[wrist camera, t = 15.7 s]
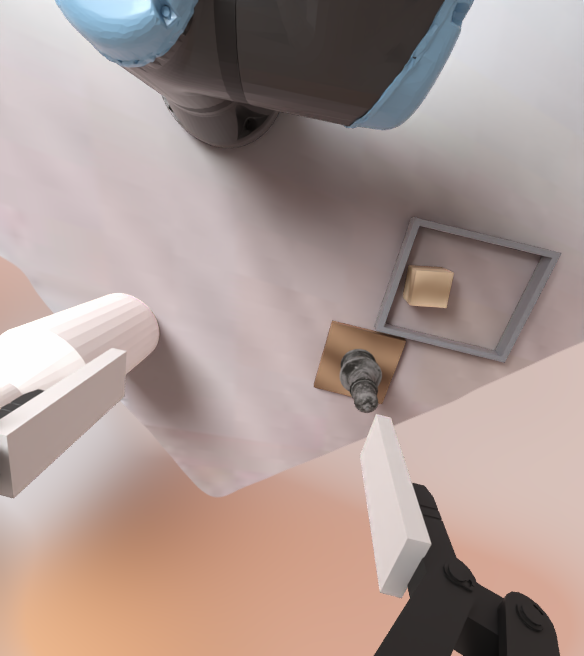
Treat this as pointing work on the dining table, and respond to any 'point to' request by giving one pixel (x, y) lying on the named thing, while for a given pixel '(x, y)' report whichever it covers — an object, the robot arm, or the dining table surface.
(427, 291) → the beech block
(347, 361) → the dark grey chess piece
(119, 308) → the bottle
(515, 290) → the dining table surface
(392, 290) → the tray
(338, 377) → the light brown wooden board
